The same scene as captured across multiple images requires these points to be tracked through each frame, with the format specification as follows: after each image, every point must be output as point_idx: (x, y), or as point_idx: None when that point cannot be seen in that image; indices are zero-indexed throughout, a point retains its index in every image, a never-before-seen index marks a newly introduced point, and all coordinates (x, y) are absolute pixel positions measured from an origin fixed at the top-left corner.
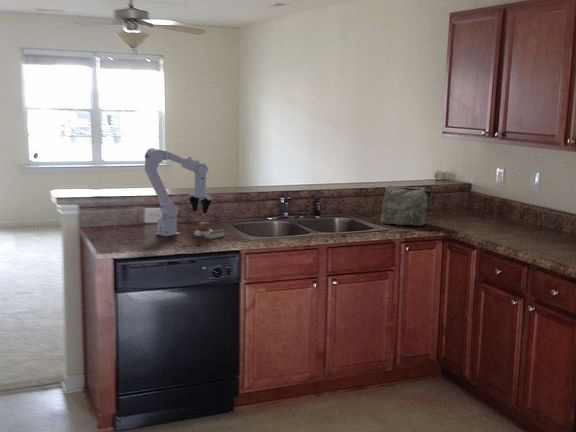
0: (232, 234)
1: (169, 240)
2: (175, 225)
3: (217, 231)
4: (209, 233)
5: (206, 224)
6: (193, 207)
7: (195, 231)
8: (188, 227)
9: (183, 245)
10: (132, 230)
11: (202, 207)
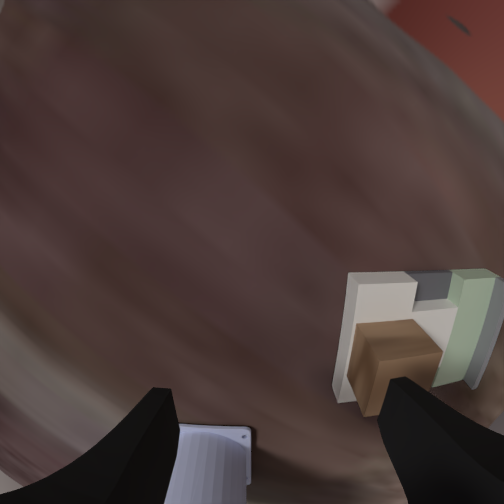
0: (489, 180)
1: (324, 492)
2: (243, 488)
3: (493, 336)
4: (452, 368)
5: (428, 379)
6: (167, 480)
7: (347, 401)
8: (68, 240)
9: None
10: (55, 458)
11: (404, 490)
